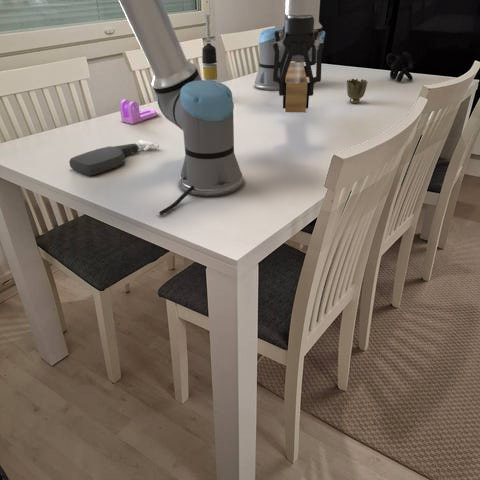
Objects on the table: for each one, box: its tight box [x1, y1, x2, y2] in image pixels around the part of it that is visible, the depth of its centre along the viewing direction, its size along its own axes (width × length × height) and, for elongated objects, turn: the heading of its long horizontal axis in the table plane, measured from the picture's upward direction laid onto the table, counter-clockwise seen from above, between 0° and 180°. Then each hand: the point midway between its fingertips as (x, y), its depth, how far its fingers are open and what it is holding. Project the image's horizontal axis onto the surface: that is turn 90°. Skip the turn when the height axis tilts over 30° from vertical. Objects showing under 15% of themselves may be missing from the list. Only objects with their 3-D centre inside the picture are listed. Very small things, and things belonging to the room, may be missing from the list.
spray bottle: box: [68, 139, 160, 177], centre depth 124 cm, size 3×11×24 cm
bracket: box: [118, 99, 158, 125], centre depth 156 cm, size 13×6×7 cm, turn 143°
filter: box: [201, 14, 218, 82], centre depth 171 cm, size 6×6×30 cm
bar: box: [284, 62, 309, 114], centre depth 135 cm, size 30×6×8 cm, turn 175°
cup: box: [346, 78, 368, 104], centre depth 168 cm, size 8×7×8 cm
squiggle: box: [385, 51, 414, 83], centre depth 198 cm, size 11×10×15 cm
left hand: (295, 107), depth 127 cm, fingers closed on bar, 6 cm apart
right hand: (293, 87), depth 146 cm, fingers closed on bar, 6 cm apart
